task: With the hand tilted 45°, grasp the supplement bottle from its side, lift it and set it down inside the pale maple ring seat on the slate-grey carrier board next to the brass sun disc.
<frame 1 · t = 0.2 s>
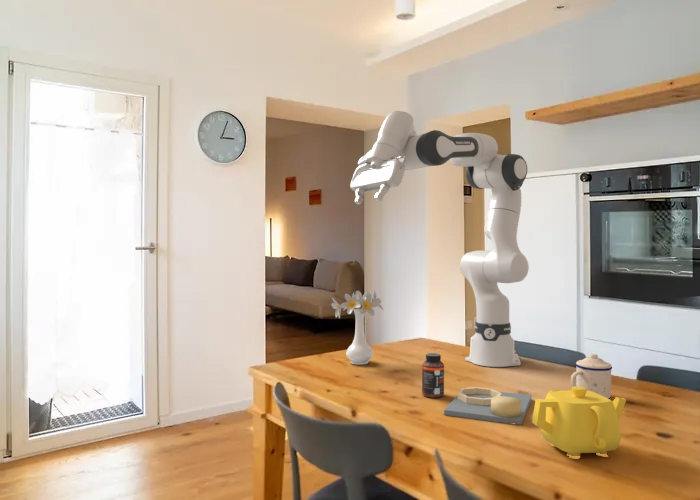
hand: (367, 201, 153), 53 cm above the table, tool tilted 25°, fingers open, 8 cm apart
teacup with lid: (589, 398, 147), on the table
flower vase: (358, 363, 187), on the table
supplement bottle: (433, 396, 148), on the table
teapot: (576, 448, 111), on the table
carrier plate: (489, 406, 138), on the table
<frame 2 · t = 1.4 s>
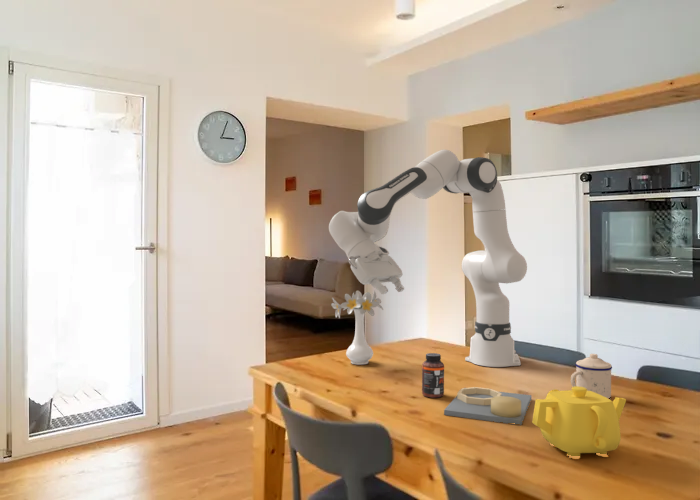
hand: (393, 291, 155), 28 cm above the table, tool tilted 45°, fingers open, 8 cm apart
nothing on the table moved.
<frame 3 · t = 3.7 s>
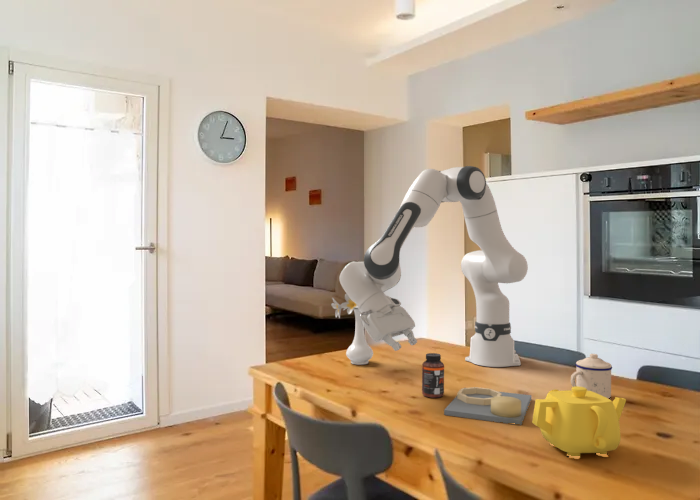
hand: (407, 346, 153), 13 cm above the table, tool tilted 45°, fingers open, 8 cm apart
nothing on the table moved.
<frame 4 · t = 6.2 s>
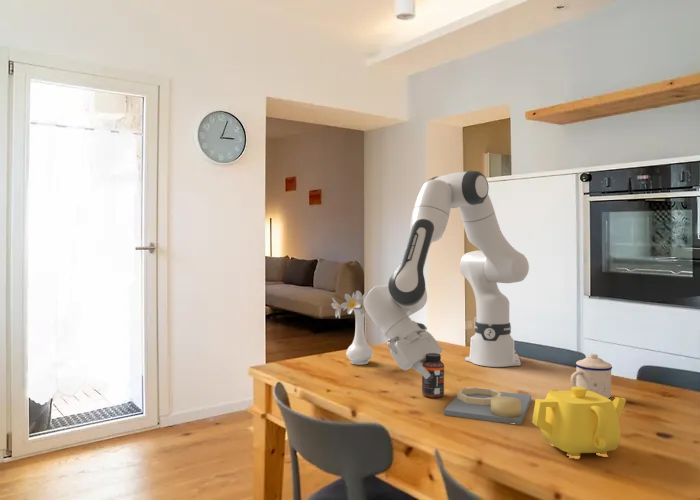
hand: (435, 374, 148), 6 cm above the table, tool tilted 45°, fingers closed on supplement bottle, 6 cm apart
supplement bottle: (433, 396, 148), on the table, touching gripper
everything else where it was.
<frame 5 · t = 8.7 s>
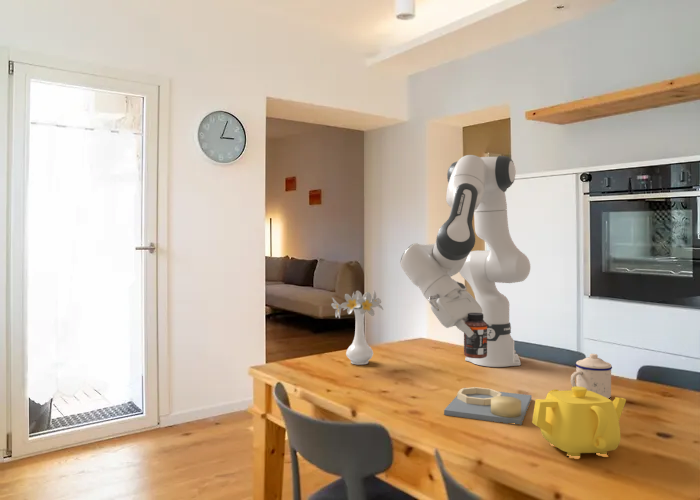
hand: (477, 333, 141), 18 cm above the table, tool tilted 45°, fingers closed on supplement bottle, 6 cm apart
supplement bottle: (475, 357, 142), point 12 cm above the table, touching gripper
everything else where it was.
when the fingers open (8 cm above the table, at t = 11.2 s): supplement bottle stays where it is, resting on carrier plate.
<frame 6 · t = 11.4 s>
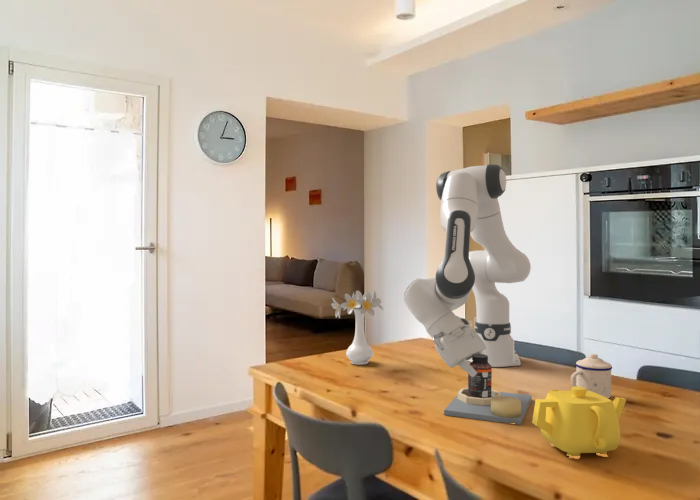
hand: (481, 371, 141), 8 cm above the table, tool tilted 45°, fingers open, 7 cm apart
supplement bottle: (479, 399, 141), point 1 cm above the table, touching carrier plate
everything else where it was.
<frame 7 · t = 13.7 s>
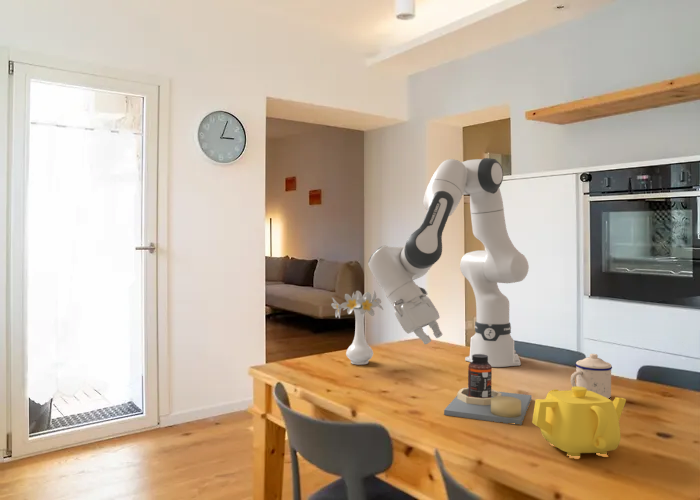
hand: (434, 339, 149), 15 cm above the table, tool tilted 35°, fingers open, 8 cm apart
nothing on the table moved.
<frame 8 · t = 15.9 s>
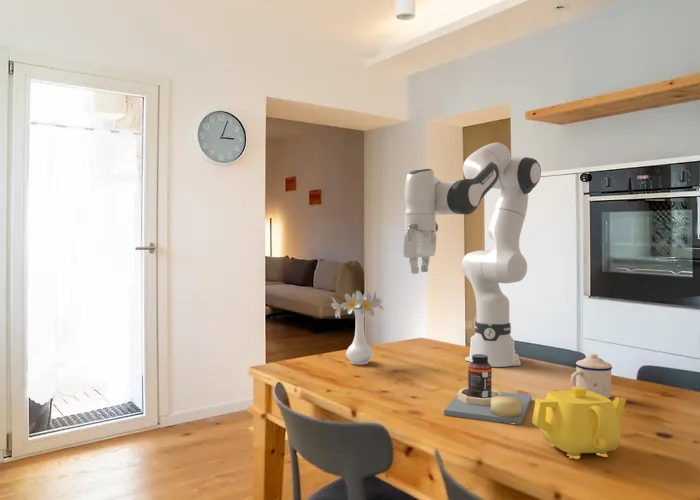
hand: (419, 272, 157), 33 cm above the table, tool pointing down, fingers open, 8 cm apart
nothing on the table moved.
at the end: supplement bottle 0.2 cm from the target spot on the carrier plate, point 1.0 cm above the carrier plate's base; supplement bottle tilted 0°; the gripper is holding nothing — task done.
